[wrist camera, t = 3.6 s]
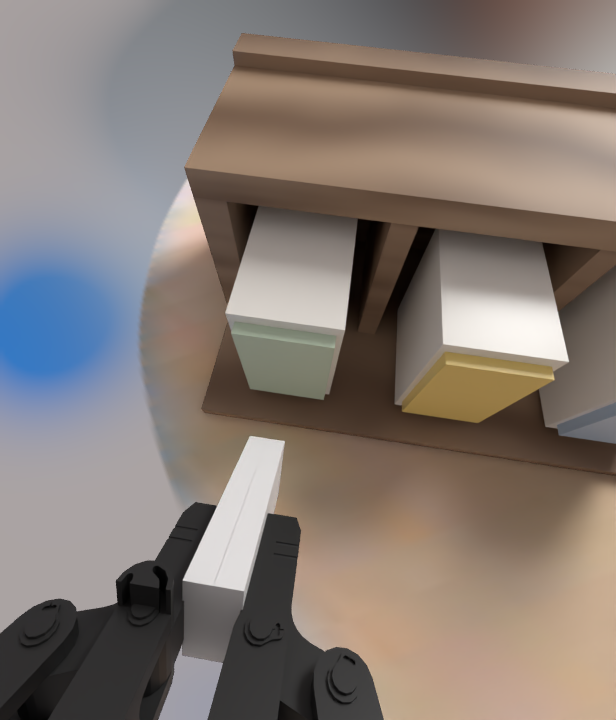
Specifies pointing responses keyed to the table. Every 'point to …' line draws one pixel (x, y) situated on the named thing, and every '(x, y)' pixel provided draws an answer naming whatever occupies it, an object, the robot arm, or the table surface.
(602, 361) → the white and blue block
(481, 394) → the mustard key
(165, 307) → the table surface
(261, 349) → the sage key
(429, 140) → the brown boxy piece
